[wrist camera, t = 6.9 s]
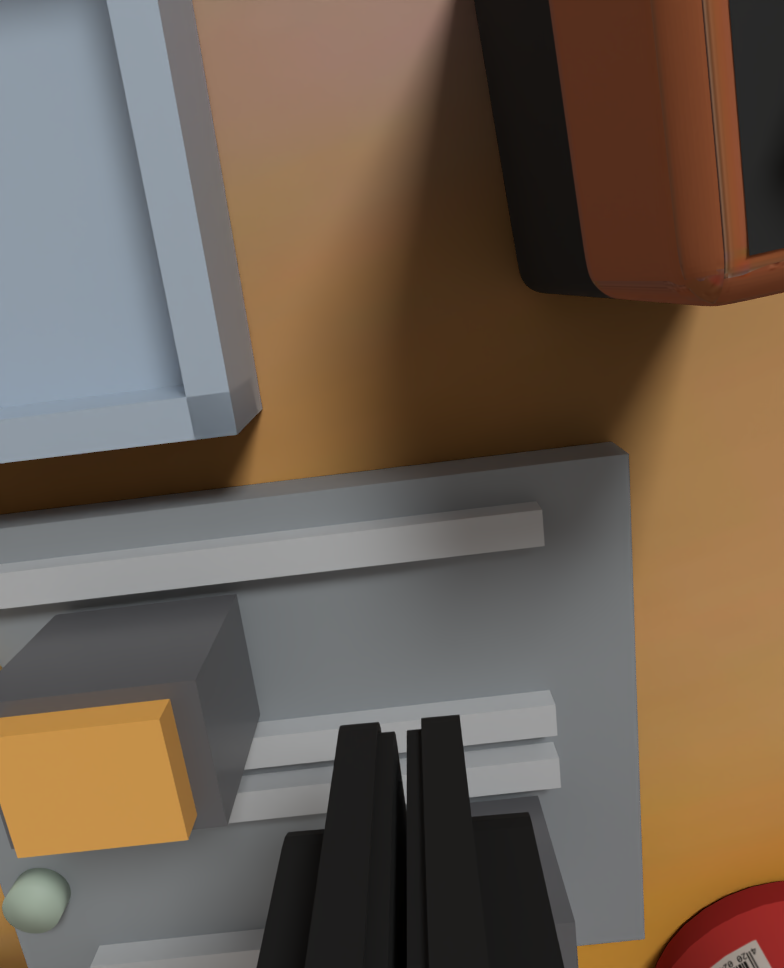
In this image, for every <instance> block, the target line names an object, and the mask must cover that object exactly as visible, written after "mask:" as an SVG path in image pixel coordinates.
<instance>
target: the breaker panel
mask: <svg viewBox="0 0 784 968" xmlns="http://www.w3.org/2000/svg"><path fill="white" fill-rule="evenodd" d="M231 594H237V598H238V603H239V608H240V613H241V619H242V624H243V629H244V634H245V639H246V644H247V649H248V654H249V659H250V664H251V670H252V675H253V680H254V685H255V690H256V695H257V700H258V705H259V710H260V717H259V720H258V723H257V727H256V730H255V734H254V737H253V741H252V744H251V747H250V751H249V754H248V758H247V761H246V765H245V768H244V771H243V775H242V778H241V782H240V785H239V789H238V792H237V795H236V799H235V802H234V806H233V809H232V813H231V816H230V819H229V823H228V826H223V827H214V828H205V829H195V830H192V831H191V834H190V837H189V840H185V841H175V842H166V843H157V844H147V845H138V846H129V847H119V848H110V849H101V850H91V851H82V852H73V853H63V854H54V855H44V856H35V857H26V858H17V855H16V852H15V849H11V846H10V843H9V840H8V837H7V834H6V831H5V828H4V825H3V822H2V819H1V815H0V884H1V887H2V890H3V893H4V896H5V899H4V901H3V906H2V909H3V914H4V916H5V918H6V920H7V921H8V922H9V923H10V924H11V925H12V926H13V927H15V929H16V932H17V935H18V938H19V941H20V944H21V947H22V950H23V953H24V956H25V959H26V962H27V965H28V968H256V967H257V963H258V958H259V953H260V948H261V944H262V939H263V934H264V930H265V925H266V920H267V915H268V911H269V906H270V901H271V896H272V892H273V887H274V882H275V878H276V873H277V868H278V863H279V859H280V854H281V849H282V845H283V842H284V838H285V836H286V835H287V833H288V832H294V831H306V830H318V829H325V822H326V815H327V808H328V801H329V794H330V787H331V780H332V773H333V766H334V759H335V752H336V745H337V738H338V731H339V727H340V726H341V725H350V724H361V723H372V722H379V723H380V727H381V732H393V731H395V734H396V739H397V746H398V753H399V760H400V767H401V775H402V782H403V789H404V796H405V803H406V810H407V730H415V729H421V718H426V717H437V716H448V715H459V714H460V723H461V731H462V739H463V748H464V756H465V765H466V773H467V782H468V790H469V799H470V803H473V802H482V801H492V800H501V799H510V798H520V797H529V796H538V797H539V801H540V804H541V807H542V811H543V814H544V818H545V821H546V824H547V828H548V831H549V835H550V838H551V841H552V845H553V848H554V852H555V855H556V858H557V862H558V865H559V869H560V872H561V875H562V879H563V882H564V886H565V889H566V892H567V896H568V899H569V903H570V906H571V909H572V913H573V916H574V920H575V926H576V941H577V946H581V945H591V944H601V943H611V942H620V941H630V940H640V939H645V933H644V903H643V872H642V842H641V811H640V781H639V750H638V720H637V689H636V659H635V628H634V598H633V567H632V537H631V506H630V476H629V454H628V453H627V452H625V451H624V450H623V449H621V448H620V447H618V446H617V445H616V444H614V443H613V442H604V443H595V444H587V445H579V446H570V447H562V448H554V449H545V450H537V451H529V452H520V453H512V454H503V455H495V456H487V457H478V458H470V459H462V460H453V461H445V462H437V463H428V464H420V465H412V466H403V467H395V468H386V469H378V470H370V471H361V472H353V473H345V474H336V475H328V476H320V477H311V478H303V479H294V480H286V481H278V482H269V483H261V484H253V485H244V486H236V487H228V488H219V489H211V490H202V491H194V492H186V493H177V494H169V495H161V496H152V497H144V498H136V499H127V500H119V501H111V502H102V503H94V504H85V505H77V506H69V507H60V508H52V509H44V510H35V511H27V512H19V513H10V514H2V515H0V670H1V669H2V668H3V667H4V666H5V665H6V664H7V663H8V662H9V661H10V660H11V659H12V658H13V657H14V656H15V655H16V654H17V653H18V652H19V651H20V650H21V649H22V648H23V647H24V646H25V645H26V644H27V643H28V642H29V641H30V640H31V639H32V638H33V637H34V636H35V635H36V634H37V633H38V632H39V631H40V630H41V629H42V628H43V627H44V626H45V625H46V624H47V623H48V622H49V621H50V620H51V619H52V618H53V617H54V616H55V615H58V614H67V613H75V612H84V611H93V610H101V609H110V608H118V607H127V606H136V605H144V604H153V603H162V602H170V601H179V600H188V599H196V598H205V597H214V596H222V595H231Z"/></svg>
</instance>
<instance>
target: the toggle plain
mask: <svg viewBox="0 0 784 968" xmlns="http://www.w3.org/2000/svg"><path fill="white" fill-rule="evenodd" d="M470 807H471V816H472V817H473V816H485V815H497V814H509V813H521V812H529V815H530V817H531V821H532V825H533V830H534V834H535V839H536V843H537V848H538V852H539V856H540V861H541V865H542V870H543V874H544V879H545V883H546V888H547V892H548V897H549V901H550V906H551V910H552V915H553V919H554V923H555V928H556V932H557V937H558V941H559V946H560V950H561V955H562V959H563V964H564V968H578V956H577V941H576V926H575V920H574V916H573V913H572V909H571V906H570V903H569V899H568V896H567V892H566V889H565V886H564V882H563V879H562V875H561V872H560V869H559V865H558V862H557V858H556V855H555V852H554V848H553V845H552V841H551V838H550V835H549V831H548V828H547V824H546V821H545V818H544V814H543V811H542V807H541V804H540V801H539V797H538V796H529V797H520V798H510V799H501V800H492V801H482V802H473V803H470ZM406 811H407V810H406Z"/></svg>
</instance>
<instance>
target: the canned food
mask: <svg viewBox="0 0 784 968" xmlns="http://www.w3.org/2000/svg"><path fill="white" fill-rule="evenodd" d="M655 968H784V881H778V882H773V883H768V884H763V885H759V886H754V887H750V888H747V889H745V890H742V891H739V892H737V893H734V894H732V895H729V896H726V897H725V898H723V899H721V900H719V901H718V902H716V903H714V904H712V905H711V906H709V907H707V908H705V909H704V910H703V911H701V912H700V913H699V914H698V915H696V916H695V917H694V918H693V919H691V920H690V921H689V922H688V923H686V924H685V925H684V926H683V927H682V928H681V929H680V931H679V932H678V933H677V934H676V935H675V936H674V937H673V939H672V940H671V941H670V942H669V943H668V945H667V946H666V948H665V950H664V952H663V953H662V955H661V957H660V958H659V960H658V962H657V964H656V967H655Z"/></svg>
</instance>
